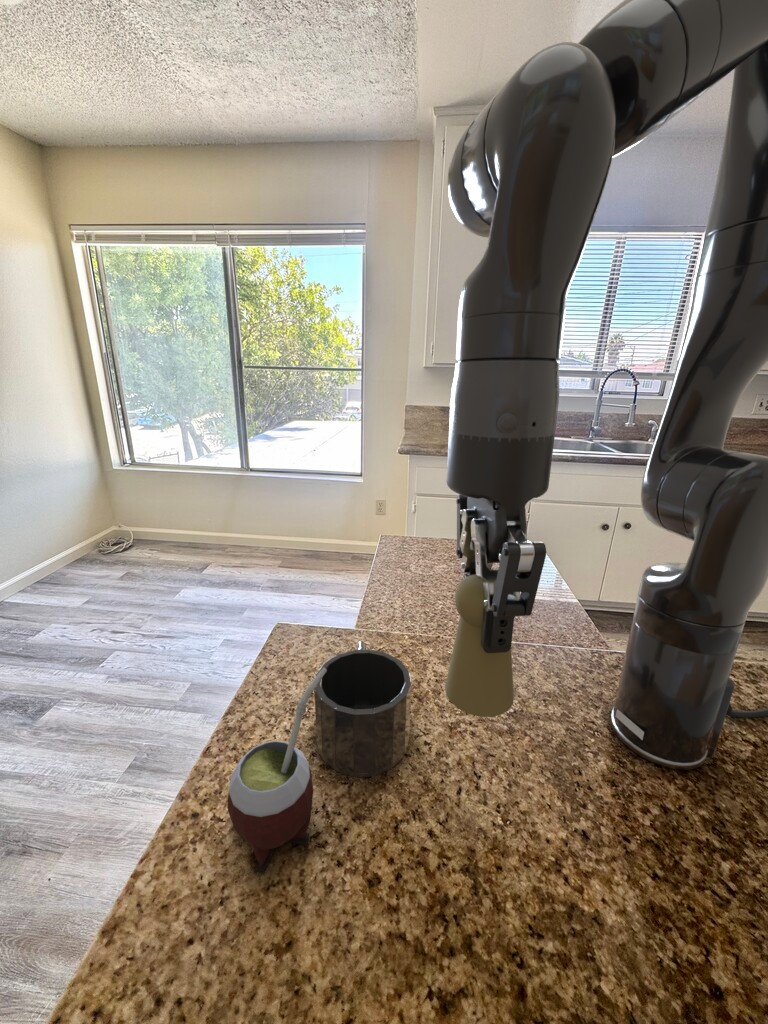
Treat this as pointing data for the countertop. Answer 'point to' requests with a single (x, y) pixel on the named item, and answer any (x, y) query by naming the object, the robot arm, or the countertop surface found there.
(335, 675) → the mug
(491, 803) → the countertop surface
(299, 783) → the mate gourd
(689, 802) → the countertop surface
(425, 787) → the countertop surface
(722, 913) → the countertop surface
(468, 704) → the beige pawn figure
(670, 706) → the robot arm
